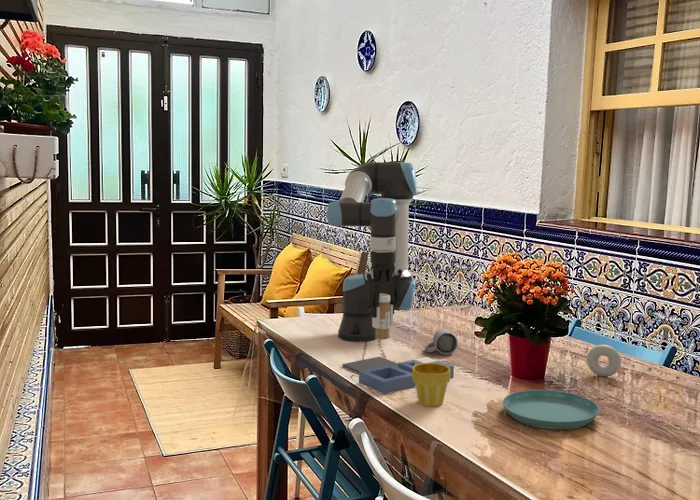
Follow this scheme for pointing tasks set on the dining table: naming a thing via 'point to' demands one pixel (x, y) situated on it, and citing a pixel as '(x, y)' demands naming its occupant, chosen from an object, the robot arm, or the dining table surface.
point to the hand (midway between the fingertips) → (382, 326)
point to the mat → (368, 364)
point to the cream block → (424, 360)
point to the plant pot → (431, 382)
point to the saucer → (550, 409)
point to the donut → (608, 352)
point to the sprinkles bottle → (384, 317)
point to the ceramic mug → (443, 343)
